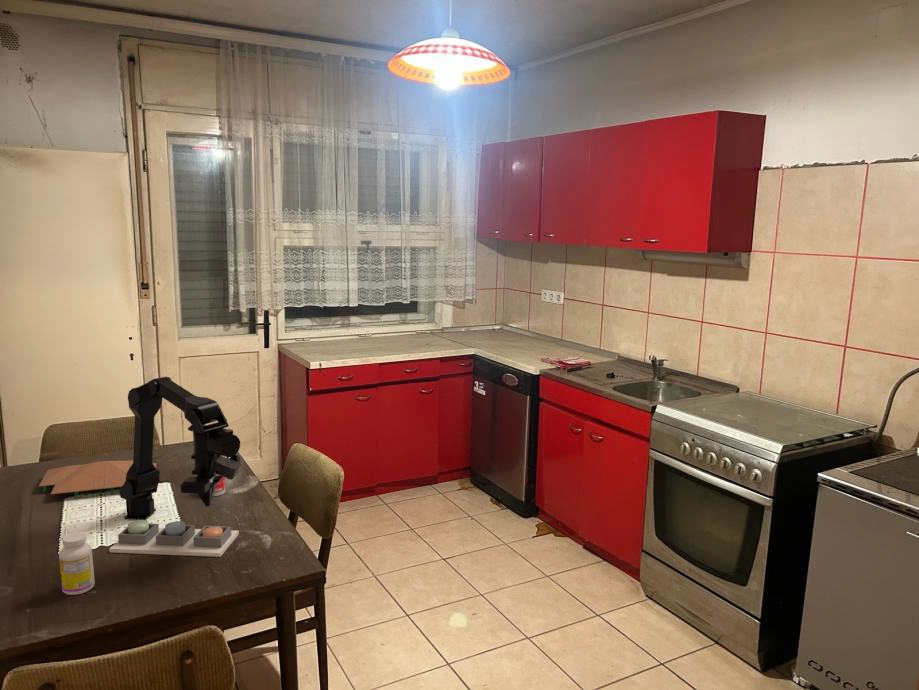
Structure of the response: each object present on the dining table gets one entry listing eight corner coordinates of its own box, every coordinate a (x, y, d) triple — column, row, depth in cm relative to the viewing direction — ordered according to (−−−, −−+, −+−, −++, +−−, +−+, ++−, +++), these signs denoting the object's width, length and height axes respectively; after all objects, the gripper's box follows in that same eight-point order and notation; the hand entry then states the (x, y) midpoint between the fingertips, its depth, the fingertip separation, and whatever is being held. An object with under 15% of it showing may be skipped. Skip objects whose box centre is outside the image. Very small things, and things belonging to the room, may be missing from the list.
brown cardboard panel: (154, 492, 215) (153, 468, 214) (34, 506, 203) (31, 480, 202) (157, 468, 236) (156, 445, 235) (48, 479, 224) (46, 455, 223)
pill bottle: (228, 494, 214) (226, 460, 212) (208, 498, 210) (206, 464, 209) (222, 487, 219) (221, 455, 217) (203, 491, 216) (201, 458, 214)
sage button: (124, 536, 179) (124, 527, 178) (134, 527, 184) (133, 519, 183) (143, 536, 178) (142, 528, 178) (152, 528, 183) (152, 520, 183)
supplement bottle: (70, 581, 161) (66, 530, 159) (99, 580, 162) (95, 530, 159) (56, 596, 154) (51, 543, 152) (87, 595, 155) (82, 543, 153)
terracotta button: (199, 543, 178) (199, 534, 178) (207, 534, 183) (207, 526, 183) (218, 543, 178) (218, 535, 178) (225, 535, 183) (225, 526, 182)
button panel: (109, 552, 175) (108, 539, 175) (135, 530, 188) (134, 518, 187) (220, 556, 174) (219, 544, 174) (238, 534, 187) (238, 522, 186)
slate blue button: (162, 537, 178) (161, 529, 178) (170, 529, 183) (170, 520, 183) (180, 538, 178) (180, 529, 178) (189, 529, 183) (188, 521, 183)
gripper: (222, 462, 167) (224, 522, 170) (248, 438, 185) (250, 493, 188) (177, 461, 167) (180, 520, 170) (208, 437, 185) (210, 491, 188)
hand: (208, 505), depth 179 cm, fingers closed
